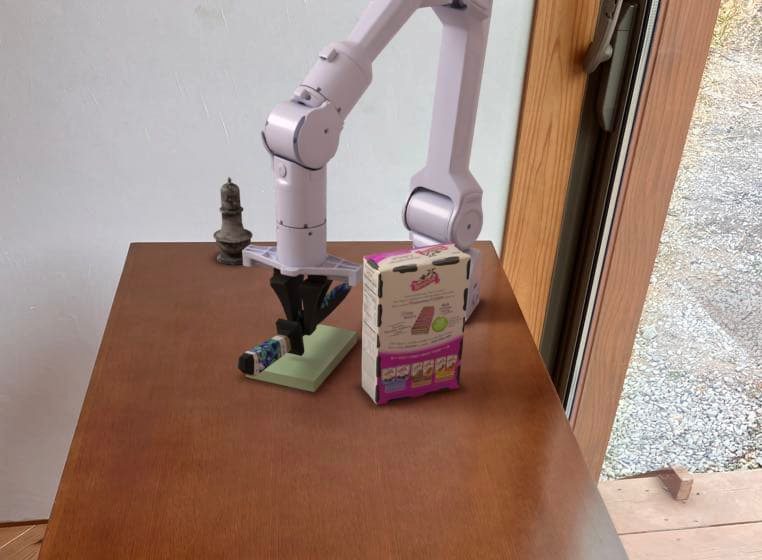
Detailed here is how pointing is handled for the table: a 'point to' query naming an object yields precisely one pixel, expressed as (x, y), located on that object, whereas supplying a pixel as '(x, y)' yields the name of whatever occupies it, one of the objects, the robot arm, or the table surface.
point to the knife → (288, 336)
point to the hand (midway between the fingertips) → (303, 330)
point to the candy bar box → (413, 321)
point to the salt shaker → (231, 226)
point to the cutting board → (311, 359)
